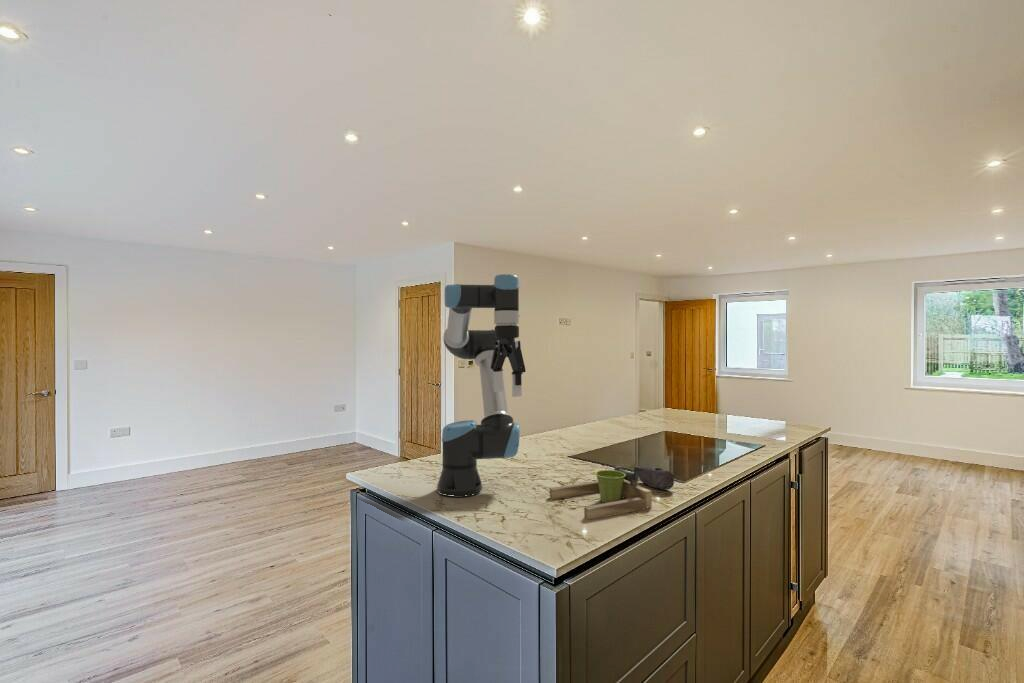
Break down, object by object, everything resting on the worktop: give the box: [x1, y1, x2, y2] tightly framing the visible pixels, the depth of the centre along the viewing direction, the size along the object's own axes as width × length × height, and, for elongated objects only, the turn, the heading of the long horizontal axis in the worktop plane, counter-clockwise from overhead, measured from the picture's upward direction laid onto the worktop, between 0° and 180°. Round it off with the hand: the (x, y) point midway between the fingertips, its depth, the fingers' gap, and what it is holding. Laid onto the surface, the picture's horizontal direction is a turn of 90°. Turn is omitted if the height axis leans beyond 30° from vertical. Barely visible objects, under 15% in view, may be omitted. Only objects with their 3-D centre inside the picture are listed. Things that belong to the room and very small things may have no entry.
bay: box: [549, 465, 653, 520], centre depth 153 cm, size 22×23×11 cm
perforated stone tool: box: [638, 466, 675, 491], centre depth 169 cm, size 15×5×7 cm, turn 27°
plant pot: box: [595, 469, 626, 503], centre depth 154 cm, size 9×9×9 cm
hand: (507, 394), depth 150 cm, fingers open, 13 cm apart
